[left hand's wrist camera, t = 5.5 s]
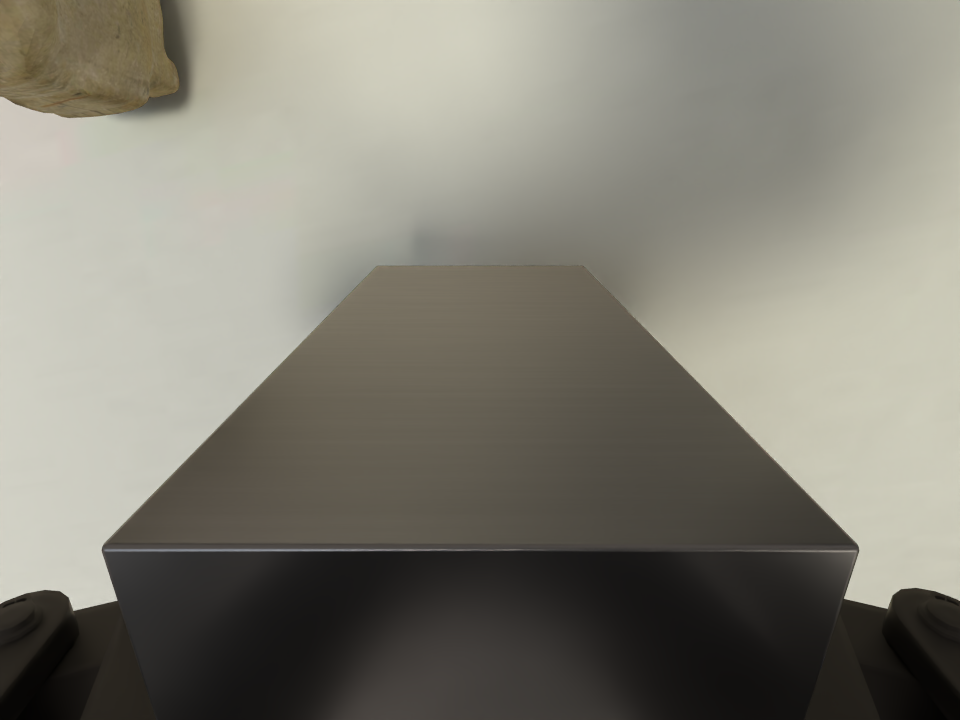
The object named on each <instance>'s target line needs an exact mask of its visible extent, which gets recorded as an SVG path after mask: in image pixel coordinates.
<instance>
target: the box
mask: <svg viewBox="0 0 960 720" xmlns="http://www.w3.org/2000/svg"><path fill="white" fill-rule="evenodd" d="M102 553H103V556H104V559H105V562H106V565H107V569H108V572H109V575H110V578H111V581H112V584H113V587H114V590H115V593H116V597H117V600H118V603H119V606H120V609H121V612H122V615H123V618H124V621H125V624H126V628H127V631H128V634H129V637H130V640H131V643H132V646H133V649H134V652H135V655H136V659H137V662H138V665H139V668H140V671H141V674H142V677H143V680H144V683H145V687H146V690H147V693H148V696H149V699H150V702H151V705H152V708H153V711H154V714H155V718H156V720H805V717H806V714H807V711H808V708H809V704H810V701H811V698H812V695H813V692H814V689H815V686H816V683H817V680H818V677H819V674H820V670H821V667H822V664H823V661H824V658H825V655H826V652H827V649H828V646H829V643H830V639H831V636H832V633H833V630H834V627H835V624H836V621H837V618H838V615H839V612H840V609H841V605H842V602H843V599H844V596H845V593H846V590H847V587H848V584H849V581H850V578H851V575H852V571H853V568H854V565H855V562H856V559H857V556H858V553H859V547H858V545H857V543H856V542H855V541H854V540H853V539H852V538H851V537H850V536H849V535H848V534H847V533H846V532H845V531H844V530H843V529H842V528H841V527H840V526H839V525H838V524H837V523H836V522H835V521H834V520H833V519H832V518H831V517H830V516H829V515H828V514H827V513H826V512H825V511H824V510H823V509H822V508H821V507H820V506H819V505H818V504H817V503H816V502H815V501H814V500H813V499H812V498H811V497H810V496H809V495H808V494H807V493H806V492H805V491H804V490H803V489H802V488H801V487H800V486H799V485H798V484H797V483H796V482H795V481H794V480H793V478H792V477H791V476H790V475H789V474H788V473H787V472H786V471H785V470H784V469H783V468H782V467H781V466H780V465H779V464H778V463H777V462H776V461H775V460H774V459H773V458H772V457H771V456H770V455H769V454H768V453H767V452H766V451H765V450H764V449H763V448H762V447H761V446H760V445H759V444H758V443H757V442H756V441H755V440H754V439H753V438H752V437H751V436H750V435H749V434H748V433H747V432H746V431H745V430H744V429H743V428H742V427H741V426H740V425H739V424H738V423H737V422H736V421H735V420H734V419H733V418H732V417H731V416H730V415H729V413H728V412H727V411H726V410H725V409H724V408H723V407H722V406H721V405H720V404H719V403H718V402H717V401H716V400H715V399H714V398H713V397H712V396H711V395H710V394H709V393H708V392H707V391H706V390H705V389H704V388H703V387H702V386H701V385H700V384H699V383H698V382H697V381H696V380H695V379H694V378H693V377H692V376H691V375H690V374H689V373H688V372H687V371H686V370H685V369H684V368H683V367H682V366H681V365H680V364H679V363H678V362H677V361H676V360H675V359H674V358H673V357H672V356H671V355H670V354H669V353H668V352H667V351H666V350H665V349H664V347H663V346H662V345H661V344H660V343H659V342H658V341H657V340H656V339H655V338H654V337H653V336H652V335H651V334H650V333H649V332H648V331H647V330H646V329H645V328H644V327H643V326H642V325H641V324H640V323H639V322H638V321H637V320H636V319H635V318H634V317H633V316H632V315H631V314H630V313H629V312H628V311H627V310H626V309H625V308H624V307H623V306H622V305H621V304H620V303H619V302H618V301H617V300H616V299H615V298H614V297H613V296H612V295H611V294H610V293H609V292H608V291H607V290H606V289H605V288H604V287H603V286H602V285H601V284H600V282H599V281H598V280H597V279H596V278H595V277H594V276H593V275H592V274H591V273H590V272H589V271H588V270H587V269H586V268H585V267H584V266H377V267H376V268H375V269H374V270H373V271H372V272H371V273H370V274H369V275H368V276H367V277H366V278H365V279H364V280H363V281H362V282H361V283H360V284H359V285H358V286H357V287H356V288H355V289H354V290H353V291H352V292H351V293H350V294H349V295H348V296H347V297H346V298H345V299H344V300H343V301H342V302H341V303H340V304H339V305H338V306H337V307H336V308H335V309H334V310H333V311H332V312H331V313H330V314H329V315H328V316H327V317H326V318H325V319H324V320H323V321H322V322H321V324H320V325H319V326H318V327H317V328H316V329H315V330H314V331H313V332H312V333H311V334H310V335H309V336H308V337H307V338H306V339H305V340H304V341H303V342H302V343H301V344H300V345H299V346H298V347H297V348H296V349H295V350H294V351H293V352H292V353H291V354H290V355H289V356H288V357H287V358H286V359H285V360H284V361H283V362H282V363H281V364H280V365H279V366H278V367H277V368H276V369H275V370H274V371H273V372H272V373H271V374H270V375H269V376H268V377H267V378H266V379H265V380H264V382H263V383H262V384H261V385H260V386H259V387H258V388H257V389H256V390H255V391H254V392H253V393H252V394H251V395H250V396H249V397H248V398H247V399H246V400H245V401H244V402H243V403H242V404H241V405H240V406H239V407H238V408H237V409H236V410H235V411H234V412H233V413H232V414H231V415H230V416H229V417H228V418H227V419H226V420H225V421H224V422H223V423H222V424H221V425H220V426H219V427H218V428H217V429H216V430H215V431H214V432H213V433H212V434H211V435H210V436H209V437H208V439H207V440H206V441H205V442H204V443H203V444H202V445H201V446H200V447H199V448H198V449H197V450H196V451H195V452H194V453H193V454H192V455H191V456H190V457H189V458H188V459H187V460H186V461H185V462H184V463H183V464H182V465H181V466H180V467H179V468H178V469H177V470H176V471H175V472H174V473H173V474H172V475H171V476H170V477H169V478H168V479H167V480H166V481H165V482H164V483H163V484H162V485H161V486H160V487H159V488H158V489H157V490H156V491H155V492H154V493H153V494H152V496H151V497H150V498H149V499H148V500H147V501H146V502H145V503H144V504H143V505H142V506H141V507H140V508H139V509H138V510H137V511H136V512H135V513H134V514H133V515H132V516H131V517H130V518H129V519H128V520H127V521H126V522H125V523H124V524H123V525H122V526H121V527H120V528H119V529H118V530H117V531H116V532H115V533H114V534H113V535H112V536H111V537H110V538H109V539H108V540H107V541H106V542H105V543H104V545H103V547H102Z"/></svg>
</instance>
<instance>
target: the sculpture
mask: <svg viewBox="0 0 960 720" xmlns="http://www.w3.org/2000/svg"><path fill="white" fill-rule="evenodd" d="M178 89H179V78H178V73H177V69H176V67H175V65H174V63H173V62H172V61H171V60H170V59H168V57H167V55H166V52H165V49H164V38H163V17H162V11H161V6H160V1H159V0H0V96H1V97H4V98H6V99H8V100H10V101H11V102H13V103H15V104H17V105H20V106H23V107H26V108H29V109H32V110H36V111H39V112H43V113H54V114H57V115H59V116H61V117H67V118H77V117H94V116H104V115H111V114H118V113H123V112H127V111H131V110H134V109H137V108H139V107H141V106H143V105H144V104H145V103H146V102H147V101H148V98H149V97H159V96H164V95H168V94H172V93H175V92H176V91H177V90H178Z"/></svg>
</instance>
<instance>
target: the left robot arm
mask: <svg viewBox="0 0 960 720" xmlns="http://www.w3.org/2000/svg"><path fill="white" fill-rule="evenodd" d="M0 720H156V718H155V714H154V711H153V708H152V705H151V702H150V699H149V696H148V693H147V690H146V687H145V683H144V680H143V677H142V674H141V671H140V668H139V665H138V662H137V659H136V655H135V652H134V649H133V646H132V643H131V640H130V637H129V634H128V631H127V628H126V624H125V621H124V618H123V615H122V612H121V609H120V606H119V603H118V601H115V602H110V603H106V604H102V605H97V606H93V607H89V608H85V609H80V610H76V611H73V609H72V606H71V603H70V600H69V598H68V597H67V596H66V595H64V594H63V593H62V592H60V591H50V590H43V591H37V592H32V593H26V594H24V595H21V596H18V597H16V598H13V599H10V600H8V601H5V602H3V603H1V604H0ZM805 720H960V601H958V600H957V599H954V598H951V597H949V596H946V595H944V594H941V593H938V592H935V591H930V590H924V589H919V588H911V589H901V590H900V591H898V592H897V593H896V594H894V595H893V596H892V599H891V602H890V604H889V607H888V609H885V608H881V607H876V606H872V605H868V604H863V603H859V602H855V601H850V600H846V599H843V602H842V605H841V609H840V612H839V615H838V618H837V621H836V624H835V627H834V630H833V633H832V636H831V639H830V643H829V646H828V649H827V652H826V655H825V658H824V661H823V664H822V667H821V670H820V674H819V677H818V680H817V683H816V686H815V689H814V692H813V695H812V698H811V701H810V704H809V708H808V711H807V714H806V717H805Z"/></svg>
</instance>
